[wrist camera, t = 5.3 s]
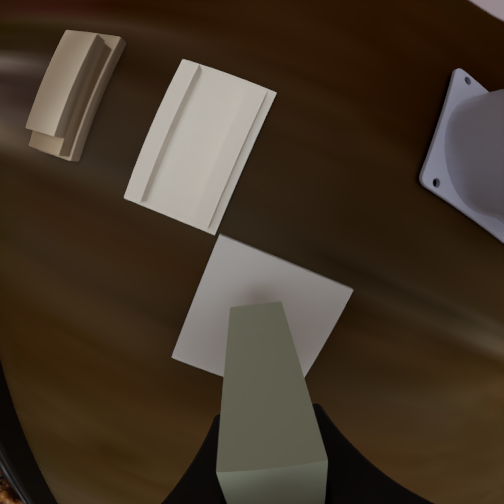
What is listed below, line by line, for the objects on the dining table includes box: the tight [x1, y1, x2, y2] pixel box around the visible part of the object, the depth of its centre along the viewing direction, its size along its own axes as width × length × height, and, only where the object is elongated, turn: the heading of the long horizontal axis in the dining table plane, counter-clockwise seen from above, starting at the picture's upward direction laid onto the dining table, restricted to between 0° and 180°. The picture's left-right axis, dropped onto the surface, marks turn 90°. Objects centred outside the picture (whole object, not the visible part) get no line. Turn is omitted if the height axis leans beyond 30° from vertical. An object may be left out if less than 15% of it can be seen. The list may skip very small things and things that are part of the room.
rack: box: [124, 59, 277, 235], centre depth 14 cm, size 5×8×2 cm, turn 157°
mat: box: [171, 233, 353, 378], centre depth 17 cm, size 8×8×1 cm
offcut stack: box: [26, 30, 127, 161], centre depth 13 cm, size 2×7×3 cm, turn 159°
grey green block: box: [216, 301, 328, 504], centre depth 9 cm, size 2×6×8 cm, turn 7°
